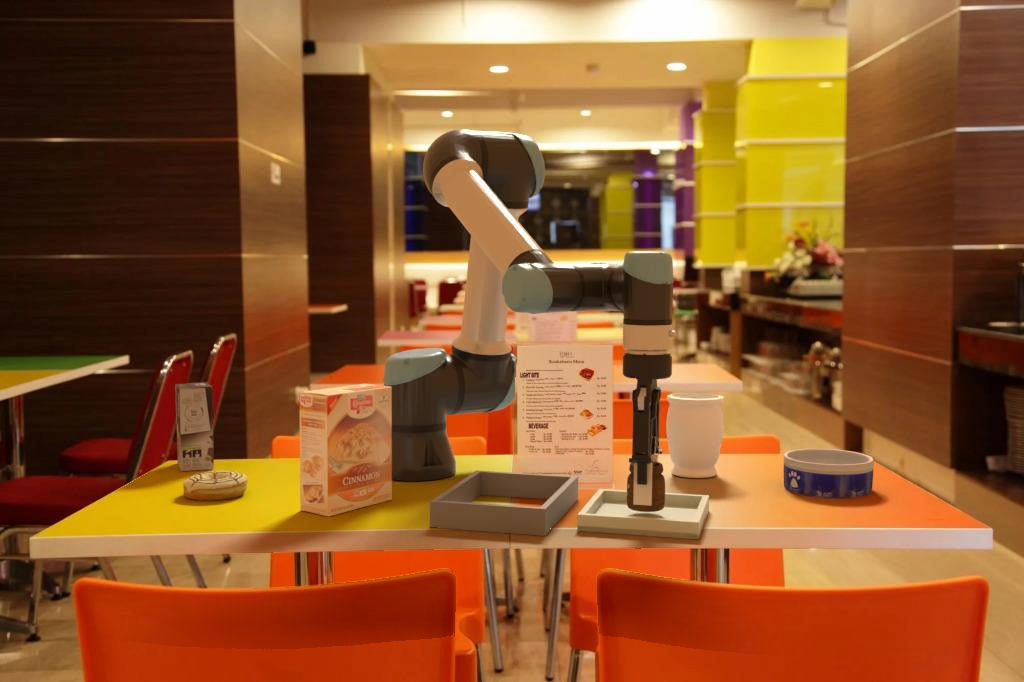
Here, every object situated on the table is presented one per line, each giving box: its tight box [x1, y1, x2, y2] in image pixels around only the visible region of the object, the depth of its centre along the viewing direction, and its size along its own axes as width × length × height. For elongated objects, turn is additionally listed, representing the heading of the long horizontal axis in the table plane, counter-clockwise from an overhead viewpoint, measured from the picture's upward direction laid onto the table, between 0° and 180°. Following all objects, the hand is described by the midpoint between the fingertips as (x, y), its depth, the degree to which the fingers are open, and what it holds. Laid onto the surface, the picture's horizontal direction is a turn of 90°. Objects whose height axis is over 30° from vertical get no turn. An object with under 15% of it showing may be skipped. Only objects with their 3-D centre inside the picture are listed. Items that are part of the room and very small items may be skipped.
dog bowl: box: [783, 448, 875, 499], centre depth 186 cm, size 15×15×6 cm
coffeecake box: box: [298, 383, 393, 517], centre depth 173 cm, size 15×7×20 cm, turn 143°
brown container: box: [626, 437, 666, 512], centre depth 163 cm, size 6×6×12 cm
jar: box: [665, 392, 725, 479], centre depth 198 cm, size 11×10×15 cm
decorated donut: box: [182, 470, 249, 502], centre depth 181 cm, size 10×11×4 cm
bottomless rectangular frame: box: [429, 470, 579, 537], centre depth 169 cm, size 18×24×4 cm
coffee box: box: [174, 381, 215, 472], centre depth 205 cm, size 9×6×16 cm
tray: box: [576, 488, 710, 540], centre depth 164 cm, size 18×18×2 cm
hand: (645, 499), depth 164 cm, fingers closed on brown container, 6 cm apart
